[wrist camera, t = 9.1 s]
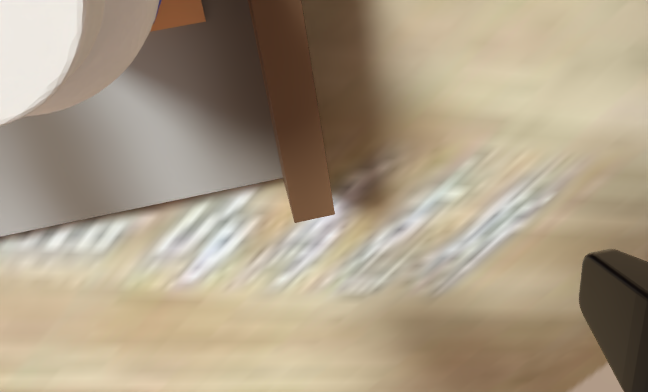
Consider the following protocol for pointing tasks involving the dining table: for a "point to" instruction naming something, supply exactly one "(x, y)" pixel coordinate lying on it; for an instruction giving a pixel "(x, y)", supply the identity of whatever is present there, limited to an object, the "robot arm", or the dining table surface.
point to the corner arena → (178, 122)
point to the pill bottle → (66, 50)
